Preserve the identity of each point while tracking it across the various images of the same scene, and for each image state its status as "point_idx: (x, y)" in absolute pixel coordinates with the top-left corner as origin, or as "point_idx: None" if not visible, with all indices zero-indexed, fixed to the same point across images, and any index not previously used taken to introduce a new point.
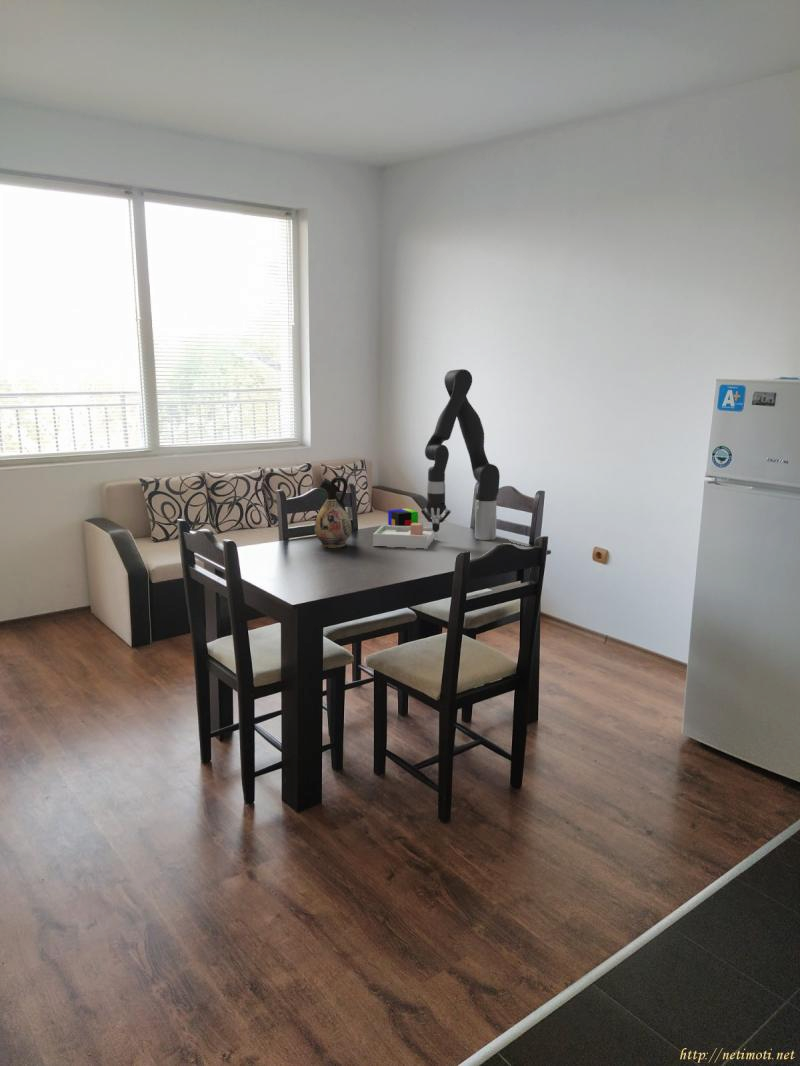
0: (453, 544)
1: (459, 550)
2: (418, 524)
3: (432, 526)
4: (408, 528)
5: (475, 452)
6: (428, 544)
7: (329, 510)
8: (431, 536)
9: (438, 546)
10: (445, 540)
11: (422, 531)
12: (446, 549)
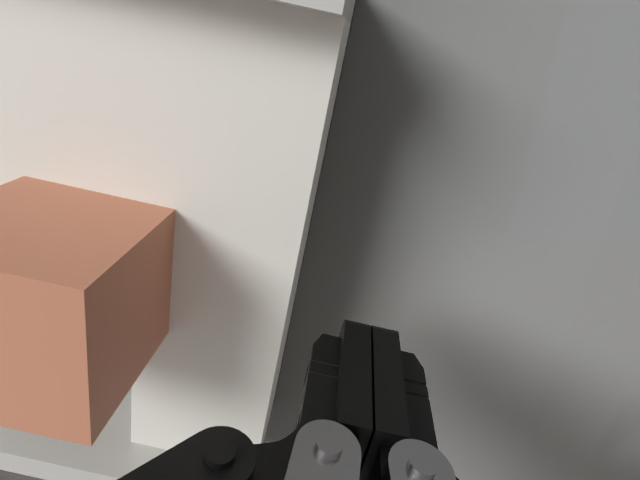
0: (562, 269)
1: (547, 467)
2: (31, 385)
3: (297, 425)
4: None
5: None
6: (280, 361)
7: None
8: (311, 197)
9: None
10: (520, 52)
11: (160, 235)
12: (440, 432)
